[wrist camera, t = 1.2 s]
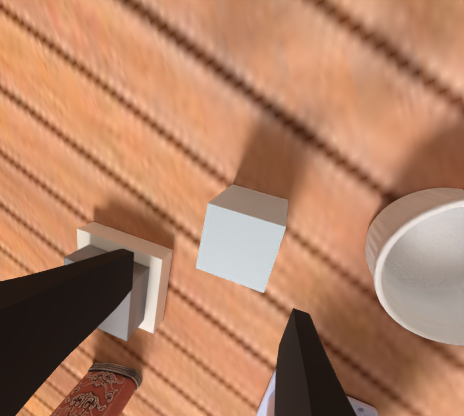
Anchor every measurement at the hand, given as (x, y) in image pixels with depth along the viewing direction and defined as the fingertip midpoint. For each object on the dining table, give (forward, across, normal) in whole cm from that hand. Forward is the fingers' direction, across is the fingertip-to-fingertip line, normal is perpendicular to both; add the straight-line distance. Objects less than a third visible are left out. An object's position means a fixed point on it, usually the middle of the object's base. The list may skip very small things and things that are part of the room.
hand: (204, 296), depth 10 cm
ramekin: (+10, -12, -2) cm, 16 cm away
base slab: (+10, +11, +10) cm, 18 cm away
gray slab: (+8, +11, +9) cm, 16 cm away
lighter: (+10, +12, +26) cm, 31 cm away
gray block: (+10, 0, 0) cm, 10 cm away
